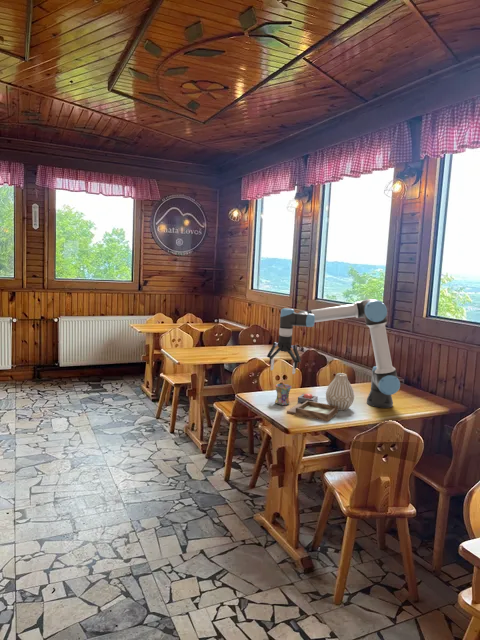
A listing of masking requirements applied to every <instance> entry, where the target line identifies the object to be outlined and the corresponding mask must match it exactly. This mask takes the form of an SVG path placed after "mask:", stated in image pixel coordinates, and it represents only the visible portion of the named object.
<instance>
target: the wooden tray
mask: <svg viewBox="0 0 480 640" xmlns="http://www.w3.org/2000/svg"><path fill="white" fill-rule="evenodd" d="M338 412H339V410H338V406H333V405H329V404H328V403H327V404H326V403H322V402H318V401H317V402H312V401H306V402H304V403H303V404H301V403H298V402H297V404H295V405H293V406H292V407H290V408H289V409H287V410H286V414H290V415H294V414H295V415H294V416H299V417H300V416H301V417H304V418H309V419H314V420H320V421H324V422H329V421H330V420H331V419H333V417H335V416H336V415H337V414H338Z"/></svg>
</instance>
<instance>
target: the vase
mask: <svg viewBox="0 0 480 640" xmlns="http://www.w3.org/2000/svg"><path fill="white" fill-rule="evenodd" d="M347 375H348V374H347V373H343V372H342V373H341V372H338V373H336V374H335V376H334V379H332V380H331V382H330V384H328V386H327V389H326V391H325V398H326V399H325V400H326V402H327V404H328V405H333V406H338V411H346V410H348V409H349V408H351V406H352V405H353V404H354V400H355V392H354V389H353V386H352V384H351V382H350V381H349V380H348V379H349V378H348V376H347Z"/></svg>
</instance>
